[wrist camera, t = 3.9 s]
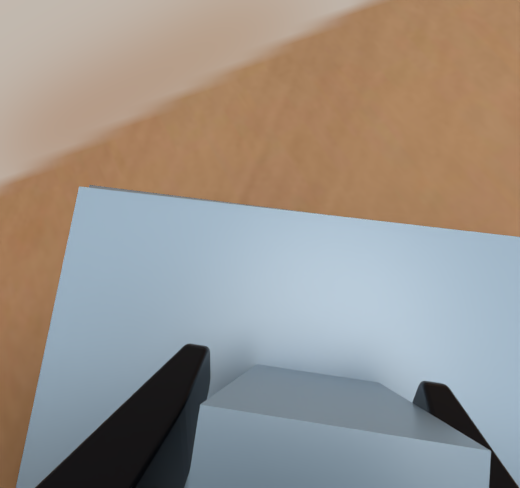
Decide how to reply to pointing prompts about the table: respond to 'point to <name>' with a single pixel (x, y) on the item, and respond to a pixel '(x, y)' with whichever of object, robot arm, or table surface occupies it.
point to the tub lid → (286, 341)
